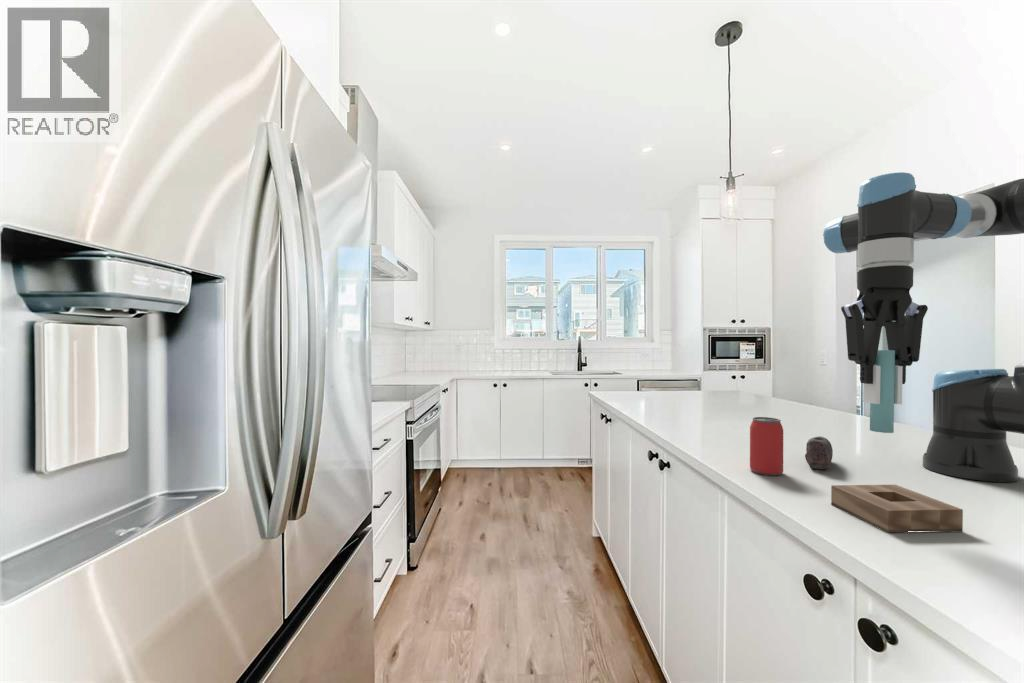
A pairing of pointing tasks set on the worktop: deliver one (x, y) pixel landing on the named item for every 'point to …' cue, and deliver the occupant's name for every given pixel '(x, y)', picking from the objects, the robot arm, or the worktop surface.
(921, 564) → the worktop surface
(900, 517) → the board
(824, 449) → the perforated stone tool
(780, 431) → the beer can
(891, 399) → the pin
